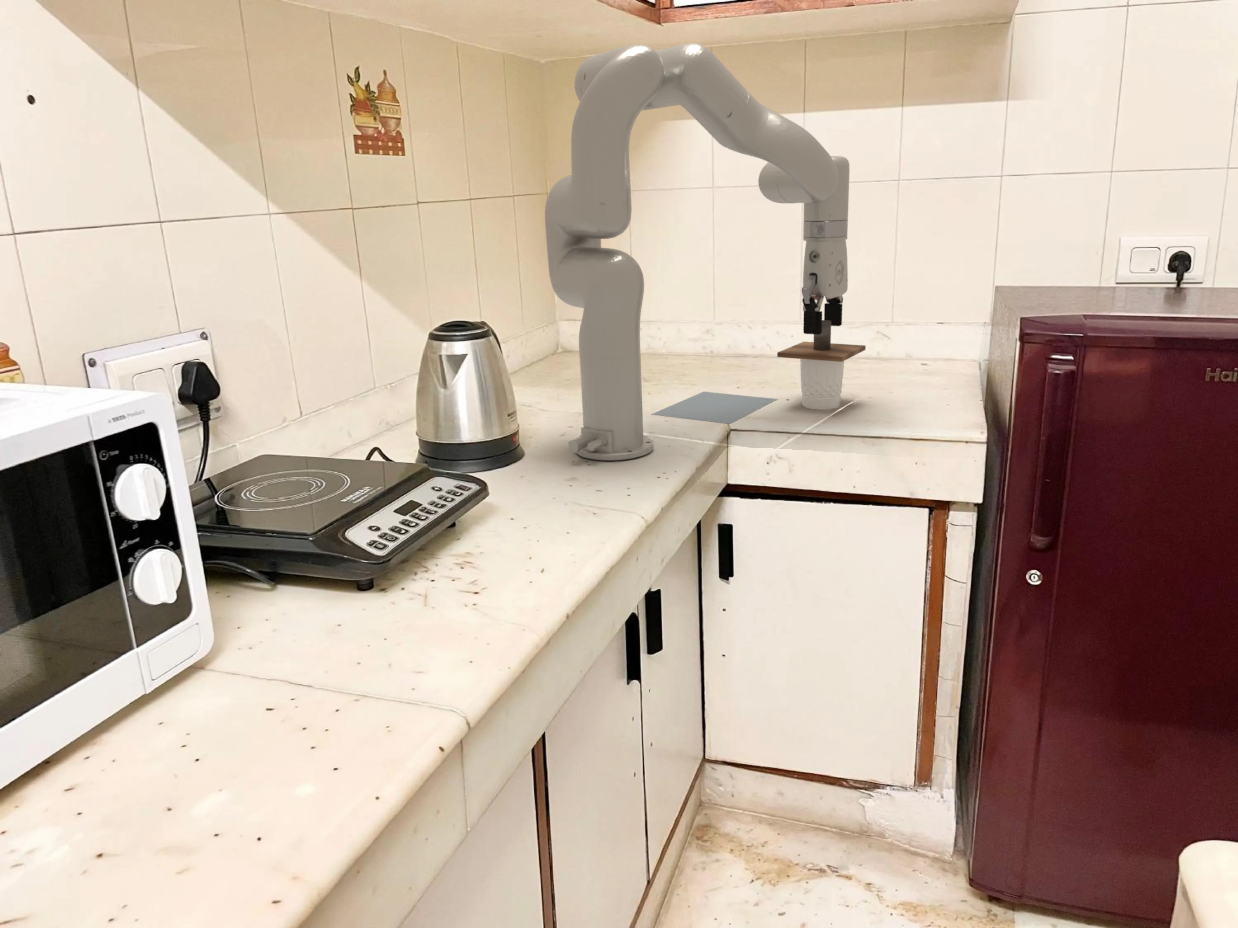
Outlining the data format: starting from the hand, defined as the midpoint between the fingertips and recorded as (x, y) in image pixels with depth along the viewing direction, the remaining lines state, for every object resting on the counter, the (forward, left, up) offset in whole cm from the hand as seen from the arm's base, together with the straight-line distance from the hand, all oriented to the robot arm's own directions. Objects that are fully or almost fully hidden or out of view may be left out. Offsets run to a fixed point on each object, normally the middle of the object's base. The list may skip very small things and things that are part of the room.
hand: (822, 329), depth 164 cm
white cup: (0, 0, -14) cm, 14 cm away
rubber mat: (-9, +17, -14) cm, 24 cm away
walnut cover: (0, 0, -4) cm, 4 cm away
